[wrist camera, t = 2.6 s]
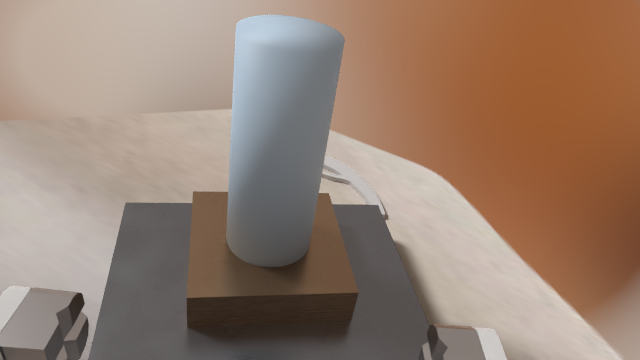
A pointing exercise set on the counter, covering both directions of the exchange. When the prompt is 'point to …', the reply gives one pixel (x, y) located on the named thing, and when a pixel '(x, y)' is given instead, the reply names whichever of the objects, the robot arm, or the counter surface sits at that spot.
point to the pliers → (350, 180)
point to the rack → (255, 290)
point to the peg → (279, 134)
